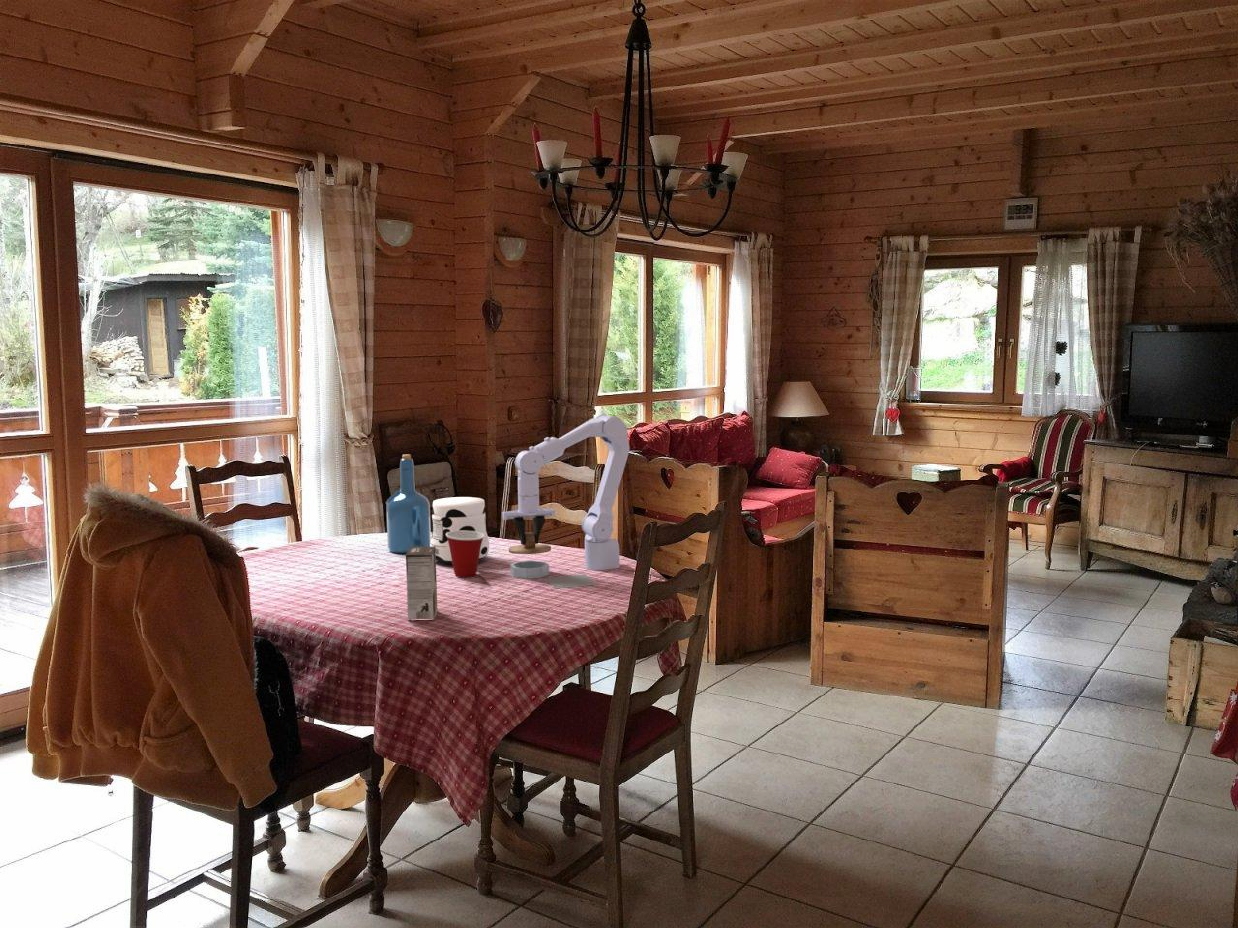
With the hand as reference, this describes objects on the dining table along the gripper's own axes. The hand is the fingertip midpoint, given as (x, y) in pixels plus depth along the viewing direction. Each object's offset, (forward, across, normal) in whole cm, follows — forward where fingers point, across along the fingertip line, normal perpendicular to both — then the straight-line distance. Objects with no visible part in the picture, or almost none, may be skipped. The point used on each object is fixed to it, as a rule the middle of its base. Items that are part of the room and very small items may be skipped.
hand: (529, 543), depth 281 cm
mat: (+9, +8, -12) cm, 18 cm away
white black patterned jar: (+10, -14, +28) cm, 32 cm away
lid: (+2, 0, 0) cm, 2 cm away
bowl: (+9, 0, 0) cm, 9 cm away
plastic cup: (+10, -16, +9) cm, 21 cm away
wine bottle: (+10, -26, +49) cm, 56 cm away
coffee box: (+10, -34, -28) cm, 45 cm away
